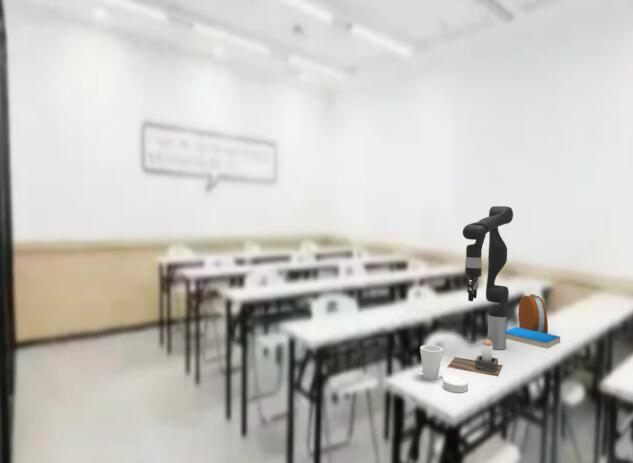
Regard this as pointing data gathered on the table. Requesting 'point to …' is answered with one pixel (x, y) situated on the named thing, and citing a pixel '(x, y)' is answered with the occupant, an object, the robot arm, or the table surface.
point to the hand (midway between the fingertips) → (472, 299)
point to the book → (532, 337)
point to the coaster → (455, 384)
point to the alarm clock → (533, 314)
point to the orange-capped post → (487, 351)
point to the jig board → (477, 365)
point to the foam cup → (431, 361)
